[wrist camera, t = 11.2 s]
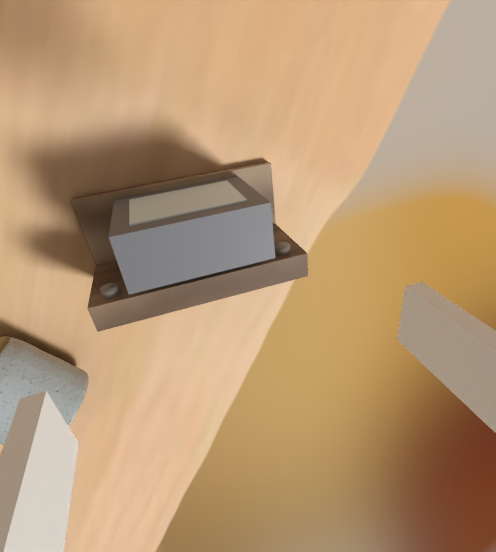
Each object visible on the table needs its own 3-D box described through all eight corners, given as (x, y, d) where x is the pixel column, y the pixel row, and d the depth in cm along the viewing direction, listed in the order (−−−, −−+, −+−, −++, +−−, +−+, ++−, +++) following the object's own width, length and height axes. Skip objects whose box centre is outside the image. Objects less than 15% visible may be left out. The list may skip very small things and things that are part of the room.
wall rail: (72, 198, 26) (54, 232, 20) (267, 161, 29) (305, 181, 23) (104, 280, 30) (97, 331, 24) (274, 240, 33) (307, 276, 27)
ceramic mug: (11, 313, 29) (-25, 379, 23) (94, 356, 33) (85, 421, 27) (-64, 392, 30) (-117, 474, 24) (26, 422, 35) (1, 499, 28)
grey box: (113, 198, 26) (107, 235, 20) (237, 174, 28) (270, 201, 22) (129, 246, 28) (128, 294, 22) (243, 220, 30) (275, 258, 24)
